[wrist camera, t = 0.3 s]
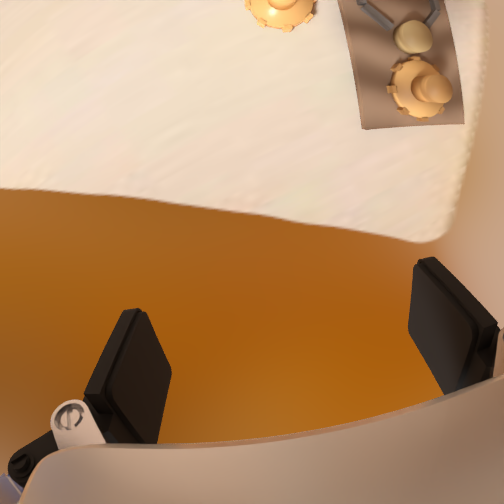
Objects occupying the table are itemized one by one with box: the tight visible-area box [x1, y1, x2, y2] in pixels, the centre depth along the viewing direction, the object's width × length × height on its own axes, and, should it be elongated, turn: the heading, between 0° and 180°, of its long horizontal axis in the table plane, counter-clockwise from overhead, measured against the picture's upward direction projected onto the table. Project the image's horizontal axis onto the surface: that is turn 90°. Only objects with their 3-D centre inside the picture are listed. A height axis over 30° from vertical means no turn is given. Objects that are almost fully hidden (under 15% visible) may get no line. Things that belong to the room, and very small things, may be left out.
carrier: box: [338, 0, 464, 130], centre depth 27 cm, size 24×15×8 cm, turn 11°
